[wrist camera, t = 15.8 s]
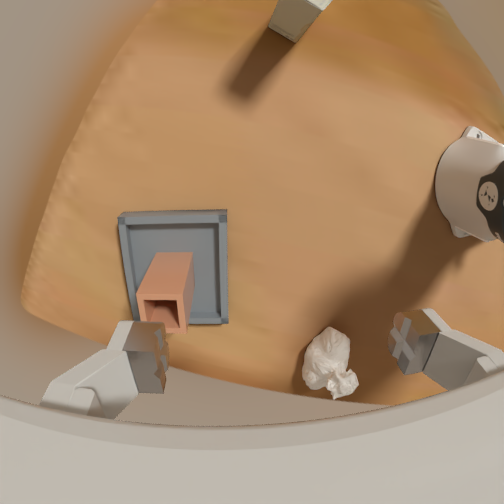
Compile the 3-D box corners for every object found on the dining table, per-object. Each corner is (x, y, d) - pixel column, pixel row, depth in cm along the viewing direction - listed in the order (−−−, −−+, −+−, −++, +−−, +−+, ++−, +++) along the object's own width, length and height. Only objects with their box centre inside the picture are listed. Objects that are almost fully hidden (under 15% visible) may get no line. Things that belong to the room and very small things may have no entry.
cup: (192, 252, 41) (182, 294, 31) (195, 285, 43) (186, 333, 33) (156, 252, 41) (135, 293, 31) (160, 285, 43) (143, 332, 32)
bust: (306, 364, 55) (350, 402, 48) (280, 376, 49) (328, 420, 43) (336, 313, 51) (387, 353, 44) (312, 322, 45) (369, 368, 38)
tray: (226, 209, 40) (226, 214, 38) (228, 313, 46) (228, 323, 44) (123, 212, 39) (117, 217, 37) (138, 313, 45) (134, 322, 43)
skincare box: (295, 44, 32) (323, 14, 21) (265, 26, 31) (281, -11, 20) (320, 12, 31) (353, -23, 19) (291, -5, 29) (315, -47, 18)
